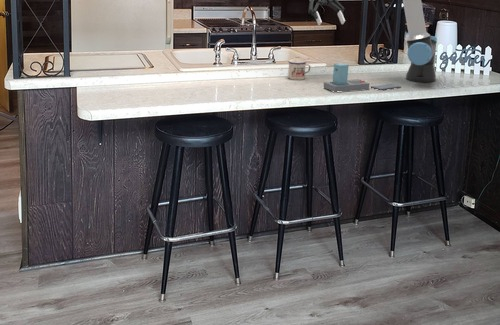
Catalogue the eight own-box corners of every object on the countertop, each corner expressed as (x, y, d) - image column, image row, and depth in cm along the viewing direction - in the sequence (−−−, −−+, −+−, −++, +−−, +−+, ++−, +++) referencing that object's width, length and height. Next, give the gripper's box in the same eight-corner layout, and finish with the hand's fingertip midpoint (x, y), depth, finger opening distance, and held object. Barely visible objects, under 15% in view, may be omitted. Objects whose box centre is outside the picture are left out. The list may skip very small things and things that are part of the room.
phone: (390, 86, 328) (391, 83, 327) (400, 89, 322) (401, 86, 322) (370, 89, 320) (370, 86, 320) (380, 91, 315) (380, 89, 314)
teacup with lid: (290, 80, 332) (291, 57, 328) (285, 76, 340) (286, 54, 336) (312, 79, 335) (314, 57, 331) (307, 76, 343) (308, 54, 339)
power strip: (357, 85, 325) (357, 78, 324) (369, 89, 317) (369, 82, 316) (323, 88, 317) (323, 81, 316) (334, 92, 309) (334, 85, 307)
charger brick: (341, 85, 318) (342, 63, 314) (346, 87, 314) (348, 64, 310) (332, 86, 316) (333, 63, 312) (337, 88, 312) (339, 65, 308)
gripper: (335, -7, 337) (349, 26, 329) (293, -6, 327) (307, 28, 319) (341, -16, 331) (356, 17, 323) (299, -16, 320) (313, 19, 313)
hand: (332, 23), depth 321 cm, fingers open, 13 cm apart
